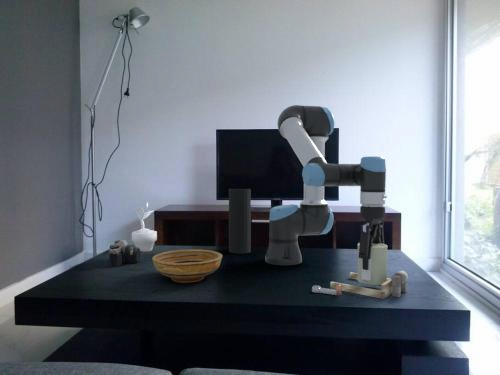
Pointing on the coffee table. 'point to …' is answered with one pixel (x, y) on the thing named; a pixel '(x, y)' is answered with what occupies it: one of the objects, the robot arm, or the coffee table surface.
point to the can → (375, 265)
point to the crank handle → (328, 290)
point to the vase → (239, 221)
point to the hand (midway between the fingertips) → (372, 276)
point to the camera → (123, 254)
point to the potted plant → (144, 232)
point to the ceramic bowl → (187, 264)
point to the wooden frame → (389, 287)
